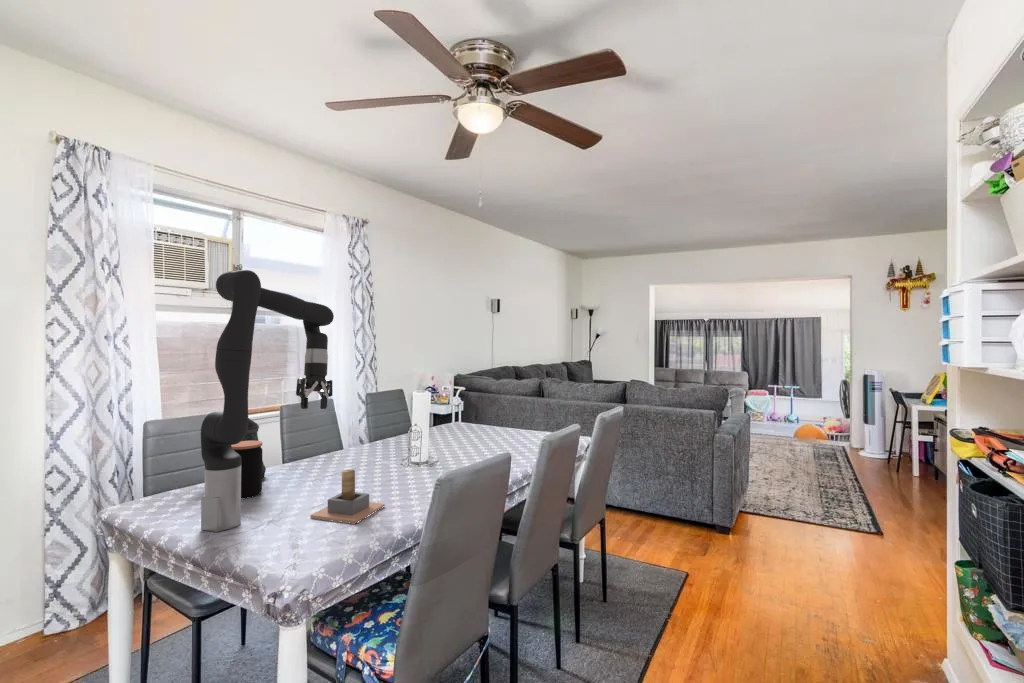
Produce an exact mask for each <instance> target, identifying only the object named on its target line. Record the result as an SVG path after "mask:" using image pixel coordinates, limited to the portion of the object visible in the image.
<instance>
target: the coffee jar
mask: <svg viewBox="0 0 1024 683" xmlns="http://www.w3.org/2000/svg"><path fill="white" fill-rule="evenodd" d="M231 446H232V448H233V449H234V451H235V452H237V453H238V454H239V455H240V456H241V498H245V499H248V498H247V497H251V498H253V497H252V496H254V497H257V496H259V495H260V494H261V492H262V491H263V479H262V460H263V448H262V446H263V442H262V441H260V440H258V441H241V442H240V443H238V444H234V445H231ZM259 493H260V494H259ZM258 494H259V495H258ZM256 495H257V496H256Z"/></svg>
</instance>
